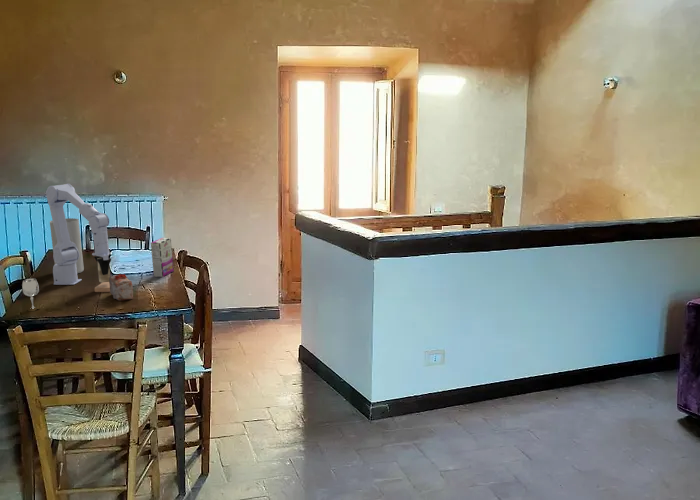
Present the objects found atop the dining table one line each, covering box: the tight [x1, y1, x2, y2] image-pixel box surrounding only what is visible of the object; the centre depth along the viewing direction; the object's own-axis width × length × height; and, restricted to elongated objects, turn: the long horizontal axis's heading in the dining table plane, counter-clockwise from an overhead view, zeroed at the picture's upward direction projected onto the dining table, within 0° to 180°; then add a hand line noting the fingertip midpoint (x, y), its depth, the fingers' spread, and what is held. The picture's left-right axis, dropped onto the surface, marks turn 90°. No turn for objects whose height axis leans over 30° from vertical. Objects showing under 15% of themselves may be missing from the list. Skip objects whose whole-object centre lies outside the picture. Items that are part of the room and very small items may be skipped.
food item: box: [109, 273, 134, 302], centre depth 272 cm, size 14×8×10 cm, turn 35°
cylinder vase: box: [49, 217, 85, 274], centre depth 313 cm, size 12×12×25 cm
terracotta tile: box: [94, 282, 110, 293], centre depth 286 cm, size 2×9×7 cm
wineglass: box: [21, 278, 40, 309], centre depth 256 cm, size 6×6×12 cm
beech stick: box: [96, 258, 111, 284], centre depth 284 cm, size 4×4×10 cm
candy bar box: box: [150, 237, 175, 278], centre depth 308 cm, size 11×5×16 cm, turn 168°
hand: (104, 273), depth 284 cm, fingers closed on beech stick, 4 cm apart
